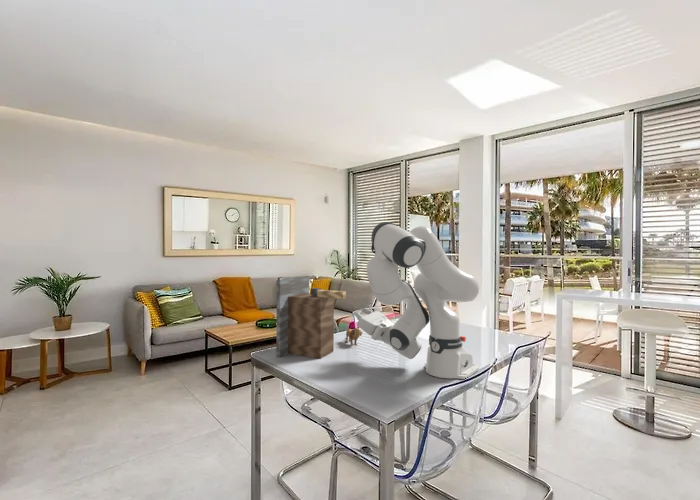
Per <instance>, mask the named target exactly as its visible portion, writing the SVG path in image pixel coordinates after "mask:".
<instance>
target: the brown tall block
mask: <svg viewBox="0 0 700 500" xmlns="http://www.w3.org/2000/svg"><path fill="white" fill-rule="evenodd" d="M334 302H335V298H323V297H311V293H310V275H302V276H296V277H287V278H281V279H276V358H282V357H284V356H286V355H293V354H295V356H301V357H306V356H308V357H307V358H313V359H323V358H324V357H326V355H327V356H328V355H330V354H332V353H334V352H333V351H335V350H334V348H335V347H334V344H335V343H334V342H335V341H334V340H335V338H334V337H335V335H334V333H335V332H334V328H335V327H334V326H335V325H334V322H335V321H334V320H335V319H334V317H335V316H334V313H335V312H334V311H335V310H334V309H335V305H334V304H335V303H334Z"/></svg>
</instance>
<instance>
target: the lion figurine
mask: <svg viewBox="0 0 700 500" xmlns="http://www.w3.org/2000/svg"><path fill="white" fill-rule="evenodd" d="M363 332H364V331H361V330H360V327H354V328H353V329H351V328H348V329H347V330H346V332H345V336H346V337H345V338H344V340H345V343H346V344H347V343H349V342H350V346H351V347H353V346H354V345H355V346H358V343H357V341H358V339H359V338H360V337H362V335H363ZM348 341H349V342H348ZM353 341H354V343H353Z"/></svg>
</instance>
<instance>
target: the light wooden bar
mask: <svg viewBox="0 0 700 500" xmlns="http://www.w3.org/2000/svg"><path fill="white" fill-rule="evenodd" d="M310 294H311V297H323V298H334V299H338V300H339V299H340V300H344V299H346V298H347V291H345V290H330V289H329V290H328V289H322V288H320V287H313V288H311V289H310Z"/></svg>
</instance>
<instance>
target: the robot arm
mask: <svg viewBox="0 0 700 500" xmlns="http://www.w3.org/2000/svg"><path fill="white" fill-rule="evenodd" d="M370 239H371V240H370V241H371V252H372V253H373V254H374V256H373V257H372V258H370V259H369V260H368V262H367V264H366V275H367V279H368V283H369V286H370V289H371V291H372V294H373V296H374V298H375V299H376V300H377V301H378V302H379V303H381V305H382V304H383V305H385V306H395V305H397V304H400V303H401V302H404V304H405V305H406V307H405V310H404V312H403V313H402V314H401V315H400V317H399V318H398V319H397V320H396V321H395V322H393V321H392V320H390V319H389V318H388V317H387V316H386V315H384V314H383V313H382V312H380V311H379V310H375V311H372V310H370V309H368V308H366V307H362V309H361V312H363V313H364V314H366V315H363V314H362V315H361V314H360V312H359V311H358V310H354V311H353V313H352V315H353V316H354V317H355V318H356V319H357V322H356V324H357V326H358V328H359V329H361V330H362V332H365V333H366V334H367V335H369V336H370V338H371V339H372V340H373V341H380V342H383V343H384V344H386V345H389V346H390V347H391V348H392V349H393V351H395V352H396V353H398V354H399V355H401V356H403V357H404V358H406V359H408V360H412V359H414V358H416V356H417V354H418V353H419V352H420V351H421V349H422V347H423V346H422V344H421V342H420V341H418V339H417V337H418V336H419V335H420V333H421V332H422V330H423V329H424V328H425V327H426V326H427V325H428V324H429V329H430V330H429V336H428V345H429V346H428V348H427V354H426V362H425V363H424V365H423V366H424V368H425V373H427V374H428V375H430V376H433V377H435V378H440V379H460V380H466V379H468V378H469V377H471V376H472V375H473V374H474V373H476V372H478V371H479V370H480V367H479V366H478V365H477V364H475V363H474V362H473V361H474V360H473V355H472V353H471V352H470V351H468V349H466V348H465V346H463V342H464V343H465V342H466V340H467V337H466V336H463V335H460V328H461V327H460V325H461V324H460V323H461V322H460V317H459V315H458V314H457V312H455V311H454V310H452V308H450V307H449V305H448V302H454V303H469V302H473V301H474V300H476V298H477V297H478V295H479V292H480V285H479V282H478V280H477V279H476V277H475V276H473V275H471V274H469V273H467V272H465V271H462V269H460V268H458V267H457V265H455V264H453V262H452V261H451V260H450V259H449V257H448V255H447V254H446V252H445V250H444V248H443V247H442V246H443V245H442V244H441V243H440V240H439V239H438V237H437V236H436V234H434V232H433V231H432V230H431V228H429V227H427V226H423V225H422V226H421V225H419V226H417V227H414V228H412V229H411V230H410V231H407V230H406V229H404V228H402V227H400V226H398V225H397V224H396V223H393V222H389V221H383V222H380V223H378V224H376V225H375V226H374V228H373V230H372V233H371V238H370ZM414 266H417V268H418V270H419V272H420V273H418V274H417V275H416V277H415V278H414V282H413V287H412V285H411V284H410V282H408V281H407V280H406V279H405V280H404V279H402V277H401V275H400V271H399V267H400V268H405V269H409V268H412V267H414ZM419 298H420V299H421V300H422V301H423V303H424V304H425V306H426V307H424V305H423V304H422V303H421V300H420V299H419ZM467 377H468V378H467ZM465 378H466V379H465Z"/></svg>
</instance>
